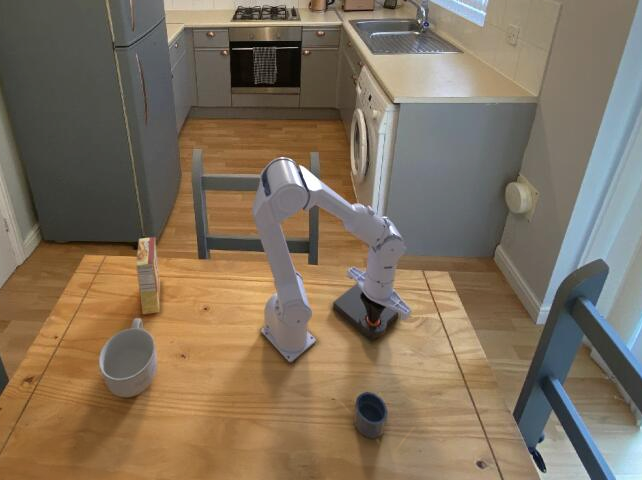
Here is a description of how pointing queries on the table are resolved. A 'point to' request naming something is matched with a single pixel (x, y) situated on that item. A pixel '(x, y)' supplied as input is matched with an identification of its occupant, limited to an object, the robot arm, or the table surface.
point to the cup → (370, 415)
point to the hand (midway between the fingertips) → (373, 319)
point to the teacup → (129, 361)
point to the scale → (362, 313)
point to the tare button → (374, 323)
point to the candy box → (148, 275)
